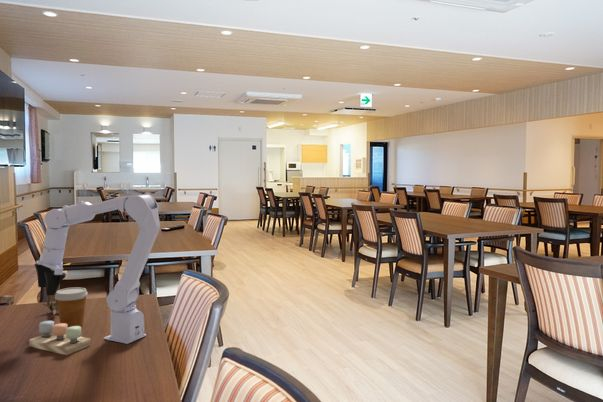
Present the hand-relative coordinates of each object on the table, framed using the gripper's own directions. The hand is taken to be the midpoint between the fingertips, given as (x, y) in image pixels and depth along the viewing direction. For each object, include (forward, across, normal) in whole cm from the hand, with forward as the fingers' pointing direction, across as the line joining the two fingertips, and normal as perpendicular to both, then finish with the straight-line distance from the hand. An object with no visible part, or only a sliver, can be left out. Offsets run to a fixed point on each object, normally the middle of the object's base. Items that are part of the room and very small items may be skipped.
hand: (46, 290), depth 138 cm
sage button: (+9, +18, +3) cm, 21 cm away
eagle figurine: (+16, -19, +12) cm, 28 cm away
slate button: (+11, +8, 0) cm, 14 cm away
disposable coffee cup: (+13, -1, +10) cm, 17 cm away
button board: (+12, +14, +2) cm, 18 cm away
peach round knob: (+10, +13, +1) cm, 17 cm away
